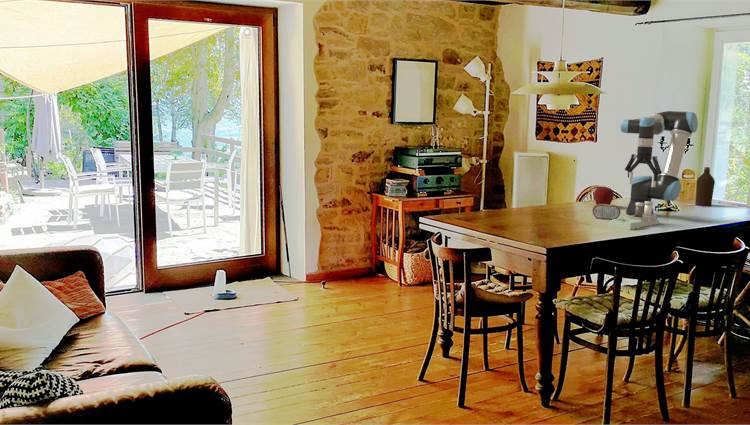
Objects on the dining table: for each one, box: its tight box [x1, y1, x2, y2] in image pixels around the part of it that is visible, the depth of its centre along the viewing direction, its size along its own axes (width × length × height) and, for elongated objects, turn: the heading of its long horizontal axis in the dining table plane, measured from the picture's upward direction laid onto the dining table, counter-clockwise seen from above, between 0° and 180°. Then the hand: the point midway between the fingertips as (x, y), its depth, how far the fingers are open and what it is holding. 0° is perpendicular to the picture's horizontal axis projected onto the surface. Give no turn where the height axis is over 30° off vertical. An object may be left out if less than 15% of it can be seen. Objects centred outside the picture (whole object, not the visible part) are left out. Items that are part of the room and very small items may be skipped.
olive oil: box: [695, 166, 716, 207], centre depth 444 cm, size 11×11×25 cm
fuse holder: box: [627, 214, 660, 227], centre depth 376 cm, size 10×17×4 cm, turn 128°
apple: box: [593, 186, 615, 205], centre depth 430 cm, size 12×12×13 cm
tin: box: [592, 204, 621, 220], centre depth 388 cm, size 15×3×8 cm, turn 74°
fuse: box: [644, 200, 654, 216], centre depth 378 cm, size 4×4×10 cm
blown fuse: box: [635, 202, 644, 218], centre depth 372 cm, size 4×4×10 cm
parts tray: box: [609, 217, 644, 230], centre depth 366 cm, size 12×12×4 cm
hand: (641, 185), depth 370 cm, fingers open, 13 cm apart
